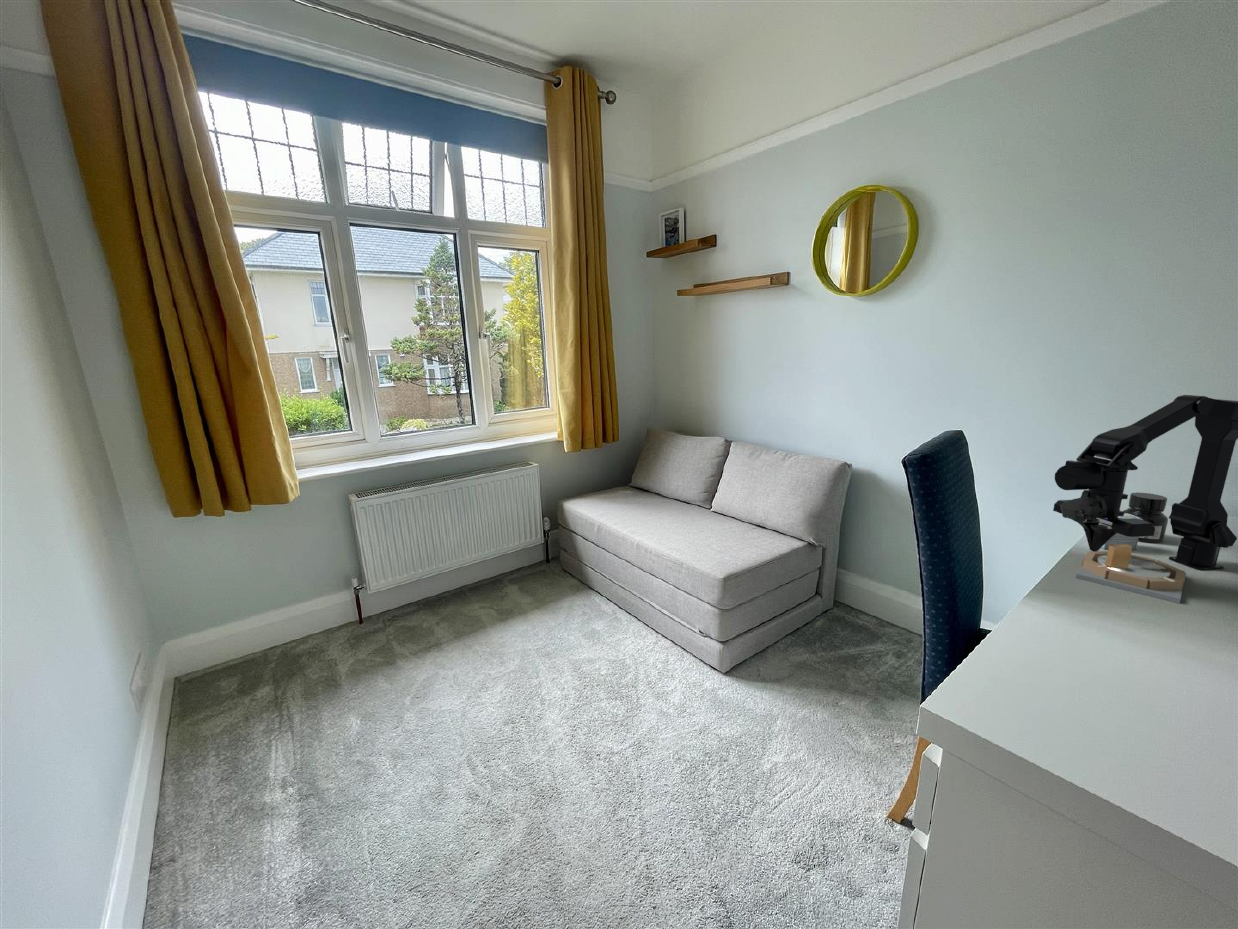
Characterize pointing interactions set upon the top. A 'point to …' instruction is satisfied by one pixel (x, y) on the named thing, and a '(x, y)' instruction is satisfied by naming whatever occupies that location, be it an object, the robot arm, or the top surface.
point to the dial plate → (1133, 578)
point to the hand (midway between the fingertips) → (1093, 550)
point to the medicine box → (1122, 536)
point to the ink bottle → (1149, 513)
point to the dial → (1131, 563)
